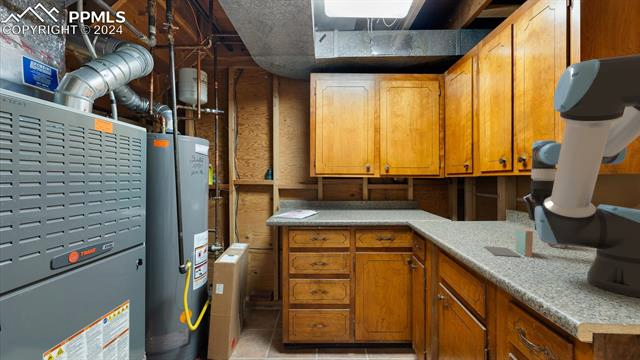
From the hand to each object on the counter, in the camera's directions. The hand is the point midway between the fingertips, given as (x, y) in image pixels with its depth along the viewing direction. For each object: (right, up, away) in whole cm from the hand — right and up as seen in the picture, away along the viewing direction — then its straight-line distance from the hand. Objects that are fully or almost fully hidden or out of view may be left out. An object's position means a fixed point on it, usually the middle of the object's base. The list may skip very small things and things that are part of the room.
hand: (540, 238), depth 109 cm
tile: (-6, -6, +1) cm, 9 cm away
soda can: (+17, -6, +12) cm, 22 cm away
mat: (-14, -6, +3) cm, 15 cm away
